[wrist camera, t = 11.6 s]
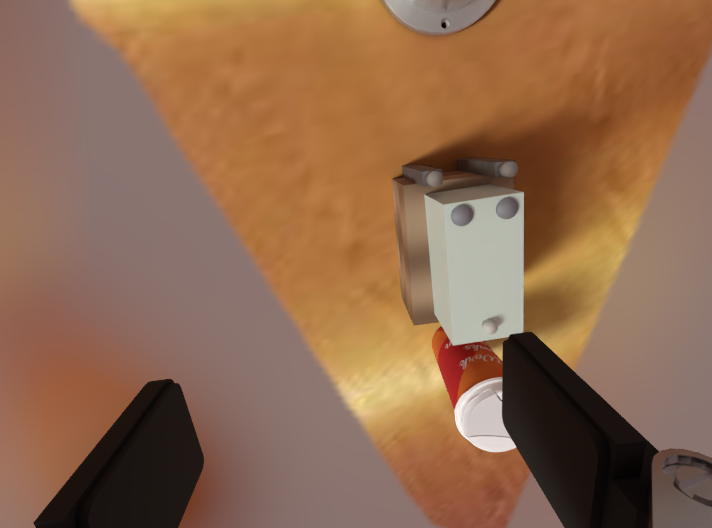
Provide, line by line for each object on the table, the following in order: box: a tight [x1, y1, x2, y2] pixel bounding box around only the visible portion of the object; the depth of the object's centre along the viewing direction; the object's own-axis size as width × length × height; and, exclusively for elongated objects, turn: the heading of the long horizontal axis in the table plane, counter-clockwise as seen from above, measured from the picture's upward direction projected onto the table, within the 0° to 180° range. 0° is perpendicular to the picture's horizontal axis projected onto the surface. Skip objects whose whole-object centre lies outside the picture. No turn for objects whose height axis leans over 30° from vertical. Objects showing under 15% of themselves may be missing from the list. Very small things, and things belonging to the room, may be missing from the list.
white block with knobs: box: [424, 184, 524, 346], centre depth 30 cm, size 12×6×7 cm, turn 8°
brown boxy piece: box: [392, 157, 518, 325], centre depth 35 cm, size 15×10×10 cm, turn 7°
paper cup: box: [432, 326, 516, 452], centre depth 38 cm, size 8×8×14 cm
